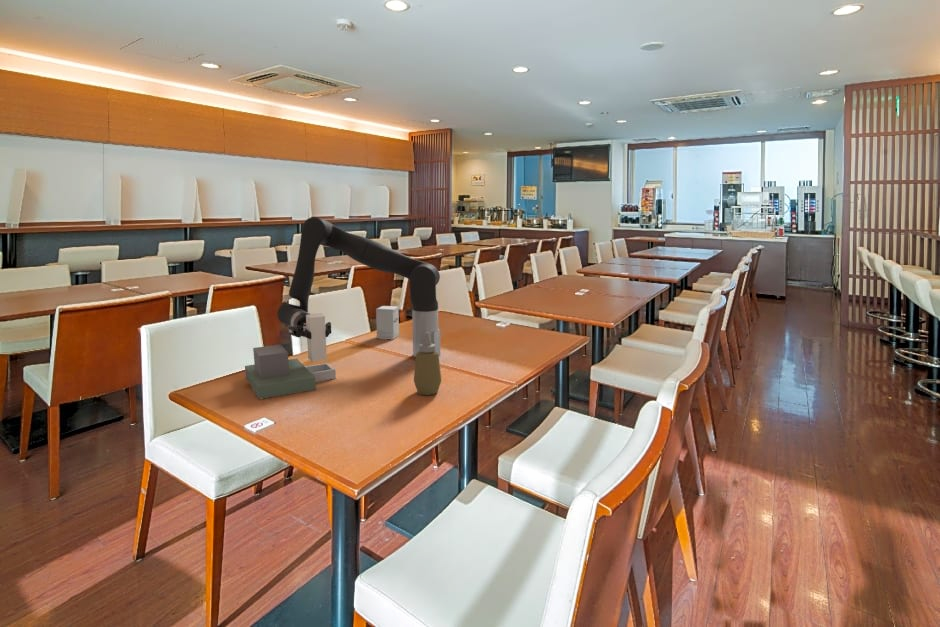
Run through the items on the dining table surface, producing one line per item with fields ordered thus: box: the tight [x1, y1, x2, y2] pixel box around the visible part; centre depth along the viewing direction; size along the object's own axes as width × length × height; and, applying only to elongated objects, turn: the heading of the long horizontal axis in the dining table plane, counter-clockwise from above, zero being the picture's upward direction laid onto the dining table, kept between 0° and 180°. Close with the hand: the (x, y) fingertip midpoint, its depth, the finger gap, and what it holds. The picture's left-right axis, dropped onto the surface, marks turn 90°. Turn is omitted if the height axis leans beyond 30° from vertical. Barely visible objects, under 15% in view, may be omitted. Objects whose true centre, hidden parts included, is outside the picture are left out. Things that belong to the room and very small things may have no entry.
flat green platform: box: [244, 344, 337, 400], centre depth 163 cm, size 24×22×11 cm
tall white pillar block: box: [306, 313, 328, 362], centre depth 165 cm, size 5×5×14 cm
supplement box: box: [375, 305, 400, 341], centre depth 217 cm, size 7×7×13 cm
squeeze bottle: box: [413, 332, 442, 396], centre depth 153 cm, size 8×8×18 cm
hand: (318, 334), depth 163 cm, fingers closed on tall white pillar block, 4 cm apart
